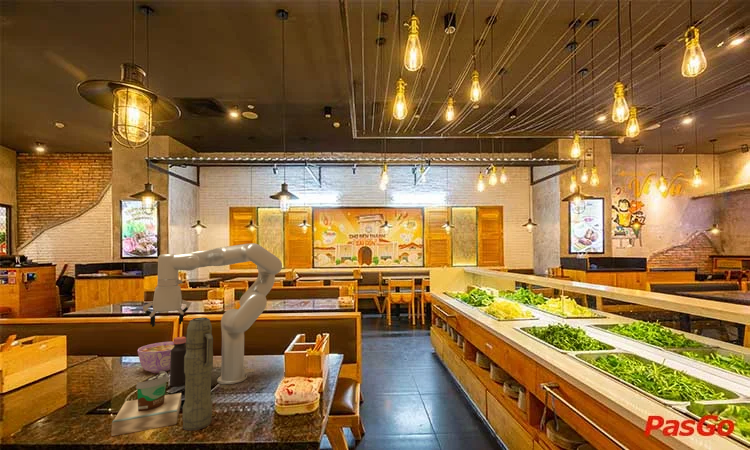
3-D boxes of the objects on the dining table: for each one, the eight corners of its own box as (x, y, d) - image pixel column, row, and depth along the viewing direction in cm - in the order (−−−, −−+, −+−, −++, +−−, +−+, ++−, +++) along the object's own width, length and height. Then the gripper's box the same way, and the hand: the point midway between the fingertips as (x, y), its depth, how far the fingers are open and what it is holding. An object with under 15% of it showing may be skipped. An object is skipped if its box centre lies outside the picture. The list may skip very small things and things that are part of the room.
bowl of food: (168, 377, 165) (169, 352, 166) (126, 377, 165) (127, 352, 166) (191, 363, 185) (192, 341, 186) (153, 364, 185) (154, 341, 186)
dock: (181, 403, 136) (181, 392, 136) (176, 424, 119) (176, 410, 119) (125, 412, 128) (125, 400, 129) (111, 436, 112) (111, 421, 112)
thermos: (200, 433, 113) (202, 322, 115) (173, 427, 117) (176, 320, 120) (221, 420, 121) (223, 317, 124) (195, 415, 125) (197, 315, 128)
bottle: (190, 381, 159) (191, 336, 161) (180, 387, 152) (182, 339, 154) (176, 381, 160) (177, 336, 161) (166, 386, 153) (167, 339, 155)
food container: (152, 413, 118) (153, 382, 119) (134, 413, 119) (136, 382, 119) (175, 398, 131) (176, 370, 131) (159, 398, 131) (160, 370, 132)
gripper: (191, 281, 155) (190, 321, 153) (145, 284, 147) (143, 325, 146) (190, 283, 148) (190, 324, 147) (141, 285, 140) (140, 329, 139)
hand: (167, 325), depth 146 cm, fingers open, 9 cm apart
